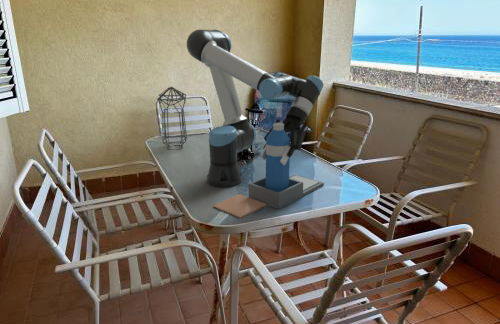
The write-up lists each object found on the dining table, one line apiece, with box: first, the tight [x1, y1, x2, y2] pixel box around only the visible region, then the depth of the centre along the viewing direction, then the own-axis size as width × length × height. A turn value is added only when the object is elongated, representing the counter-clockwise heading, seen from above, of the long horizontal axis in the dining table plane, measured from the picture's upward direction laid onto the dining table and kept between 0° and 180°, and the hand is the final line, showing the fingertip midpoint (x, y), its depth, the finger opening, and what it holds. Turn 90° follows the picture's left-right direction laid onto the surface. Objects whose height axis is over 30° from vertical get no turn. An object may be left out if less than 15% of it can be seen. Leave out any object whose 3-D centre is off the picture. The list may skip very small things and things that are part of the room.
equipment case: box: [248, 174, 325, 210], centre depth 145 cm, size 15×30×6 cm, turn 137°
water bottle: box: [265, 122, 291, 192], centre depth 135 cm, size 9×9×25 cm
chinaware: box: [252, 135, 266, 155], centre depth 198 cm, size 15×15×8 cm
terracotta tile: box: [212, 193, 268, 219], centre depth 133 cm, size 14×14×1 cm
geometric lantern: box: [156, 86, 188, 149], centre depth 204 cm, size 16×16×35 cm
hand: (272, 160), depth 133 cm, fingers closed on water bottle, 9 cm apart
